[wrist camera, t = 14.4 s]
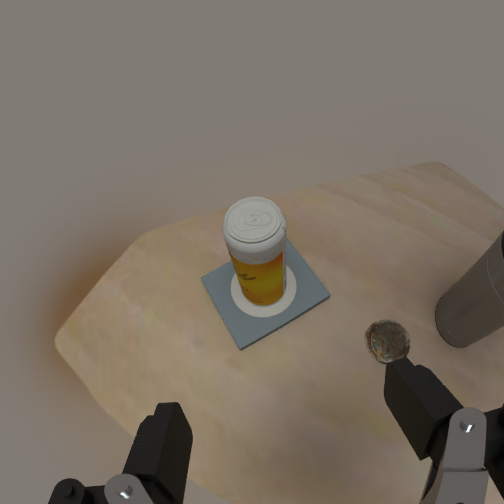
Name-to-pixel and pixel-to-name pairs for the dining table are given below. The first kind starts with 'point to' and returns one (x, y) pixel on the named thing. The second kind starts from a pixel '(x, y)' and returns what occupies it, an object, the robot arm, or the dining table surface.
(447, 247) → the dining table surface
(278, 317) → the board
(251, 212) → the beer can
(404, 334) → the decorative disc
